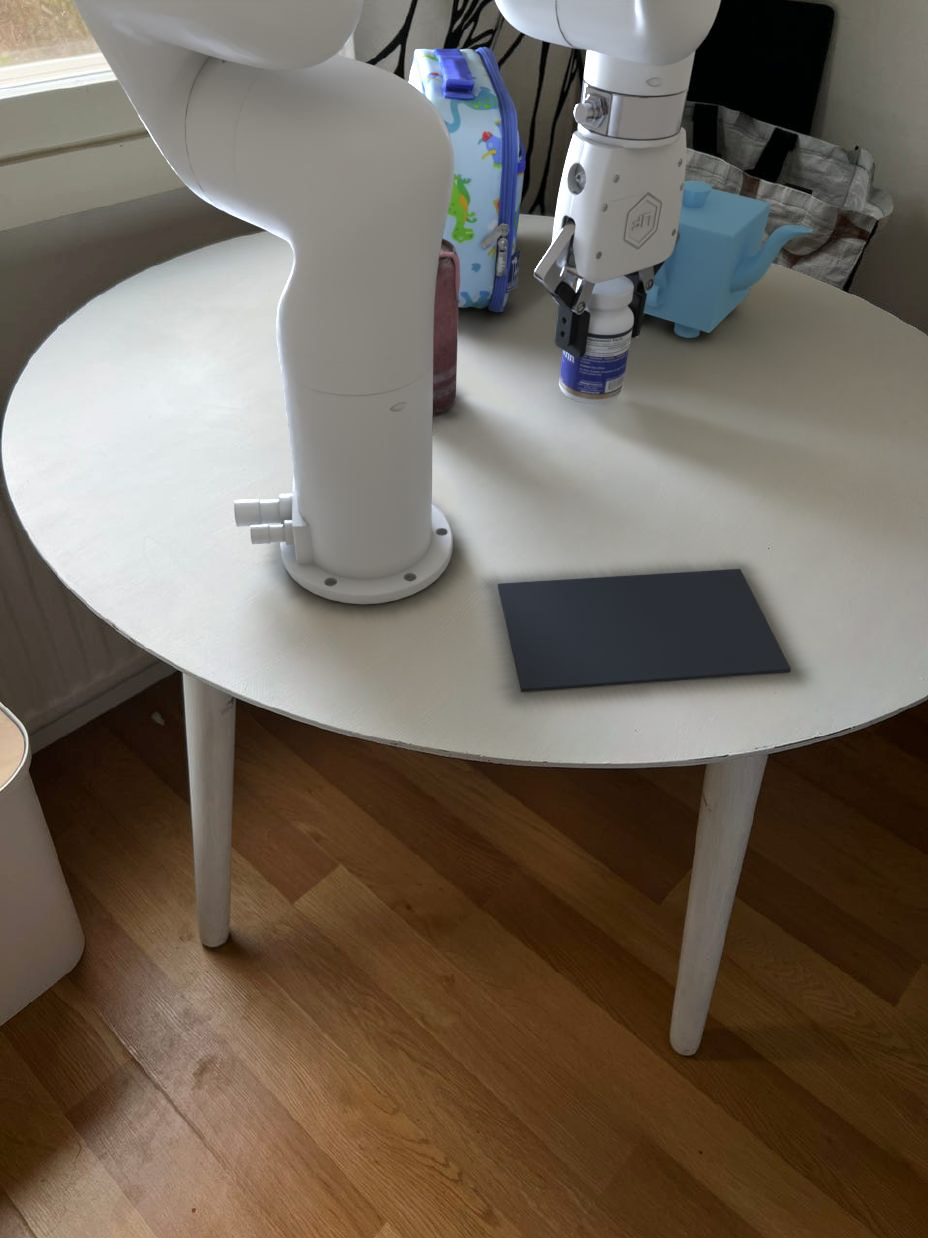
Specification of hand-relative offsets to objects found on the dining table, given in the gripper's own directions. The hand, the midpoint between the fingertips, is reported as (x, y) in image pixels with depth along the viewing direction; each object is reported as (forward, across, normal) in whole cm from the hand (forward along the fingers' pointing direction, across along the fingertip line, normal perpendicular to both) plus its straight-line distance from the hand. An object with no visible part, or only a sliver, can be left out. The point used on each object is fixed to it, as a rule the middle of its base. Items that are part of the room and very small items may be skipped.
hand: (597, 338), depth 79 cm
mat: (+7, -17, -23) cm, 30 cm away
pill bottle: (+5, 0, 0) cm, 5 cm away
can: (+7, -12, +9) cm, 16 cm away
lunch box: (+6, +6, +28) cm, 29 cm away
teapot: (+6, +21, +6) cm, 22 cm away
